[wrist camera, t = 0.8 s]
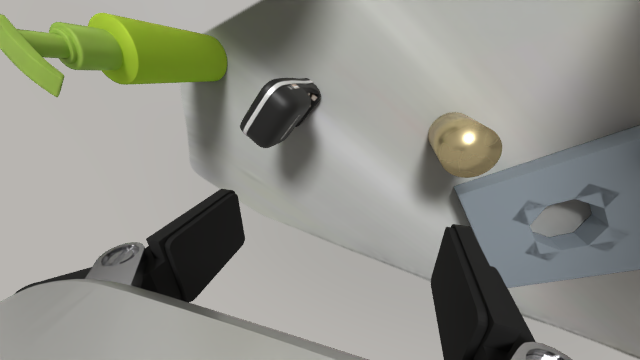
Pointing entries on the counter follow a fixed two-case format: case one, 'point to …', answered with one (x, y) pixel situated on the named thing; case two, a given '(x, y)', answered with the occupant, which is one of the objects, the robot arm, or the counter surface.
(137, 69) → the soap dispenser
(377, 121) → the counter surface
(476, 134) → the brass cylinder
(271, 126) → the battery charger
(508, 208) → the plate
